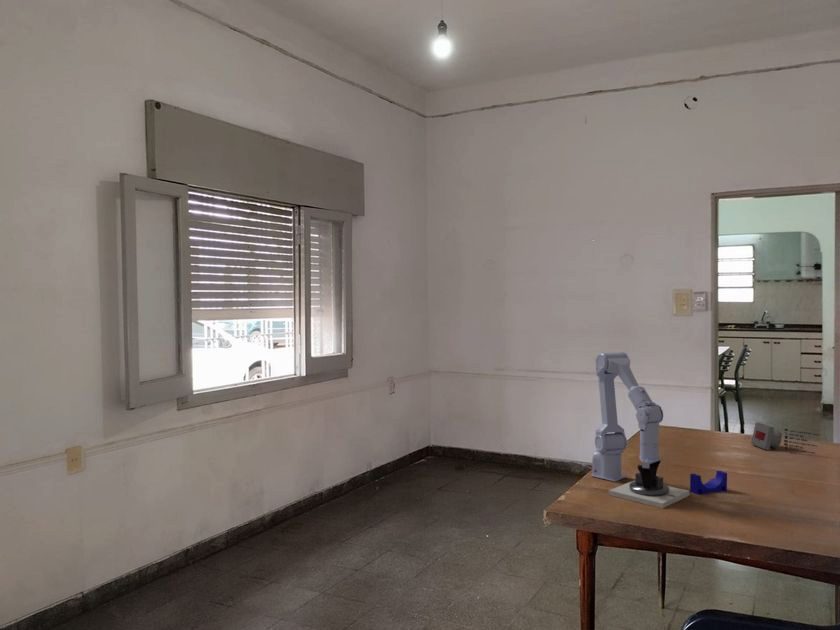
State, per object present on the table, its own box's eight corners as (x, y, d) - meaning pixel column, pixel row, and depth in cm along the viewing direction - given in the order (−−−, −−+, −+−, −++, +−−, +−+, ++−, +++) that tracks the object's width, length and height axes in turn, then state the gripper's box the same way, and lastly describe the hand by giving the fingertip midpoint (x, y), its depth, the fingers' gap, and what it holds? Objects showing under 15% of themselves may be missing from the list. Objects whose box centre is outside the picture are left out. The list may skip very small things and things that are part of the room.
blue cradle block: (716, 487, 215) (716, 469, 215) (726, 491, 211) (727, 473, 210) (686, 490, 211) (687, 472, 211) (696, 494, 207) (696, 476, 207)
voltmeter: (745, 447, 270) (745, 424, 269) (756, 443, 277) (757, 420, 277) (816, 459, 249) (816, 434, 249) (826, 454, 257) (826, 430, 257)
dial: (655, 498, 198) (655, 483, 198) (621, 488, 207) (621, 474, 207) (676, 490, 205) (676, 476, 205) (643, 481, 215) (643, 468, 214)
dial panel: (608, 494, 207) (608, 489, 207) (637, 483, 219) (637, 478, 219) (662, 508, 194) (662, 502, 193) (689, 495, 206) (689, 490, 206)
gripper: (659, 449, 197) (659, 493, 198) (665, 439, 210) (665, 481, 211) (635, 446, 201) (635, 490, 201) (643, 437, 214) (642, 478, 214)
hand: (649, 485), depth 206 cm, fingers open, 6 cm apart
